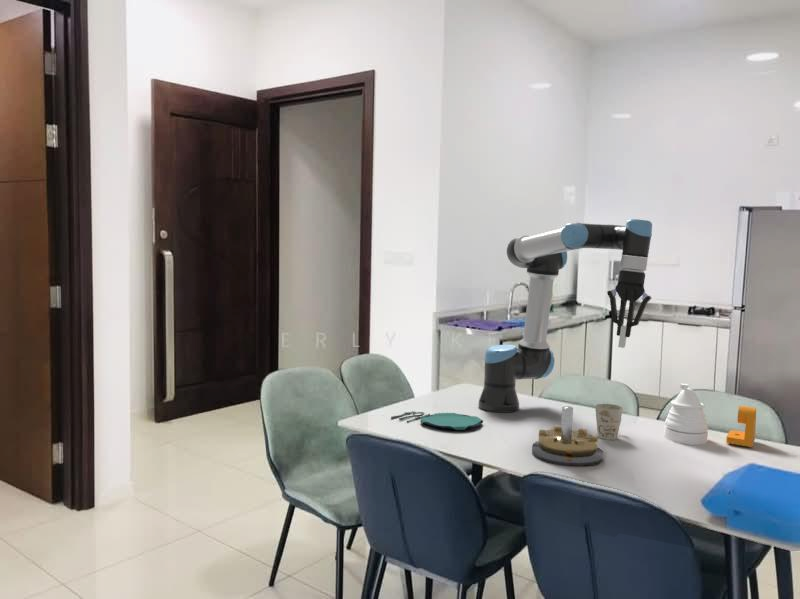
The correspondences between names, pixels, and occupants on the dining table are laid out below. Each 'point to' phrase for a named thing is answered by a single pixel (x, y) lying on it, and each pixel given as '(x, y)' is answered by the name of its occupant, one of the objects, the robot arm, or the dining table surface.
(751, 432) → the bracket
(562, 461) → the disc
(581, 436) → the round peg stand
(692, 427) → the honey pot
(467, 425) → the cutlery set
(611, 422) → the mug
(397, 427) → the dining table surface
